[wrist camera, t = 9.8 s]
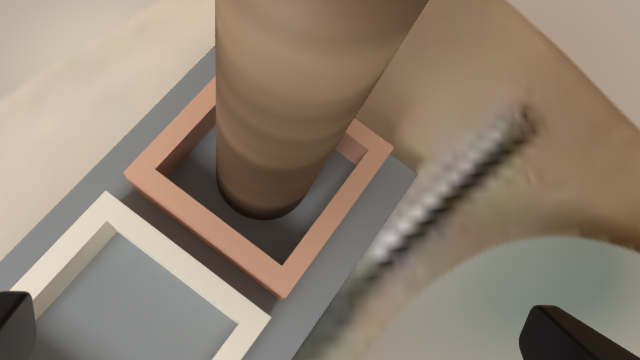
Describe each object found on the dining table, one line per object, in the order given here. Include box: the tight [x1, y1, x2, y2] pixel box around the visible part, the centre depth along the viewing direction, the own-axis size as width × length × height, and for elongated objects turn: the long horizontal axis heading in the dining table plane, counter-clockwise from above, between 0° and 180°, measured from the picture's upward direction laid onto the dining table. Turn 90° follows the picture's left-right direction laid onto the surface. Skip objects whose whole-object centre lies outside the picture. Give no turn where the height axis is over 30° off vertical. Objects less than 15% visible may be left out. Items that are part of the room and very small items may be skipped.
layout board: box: [0, 46, 418, 360], centre depth 19 cm, size 20×11×3 cm, turn 144°
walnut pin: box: [215, 0, 429, 220], centre depth 15 cm, size 4×4×14 cm
